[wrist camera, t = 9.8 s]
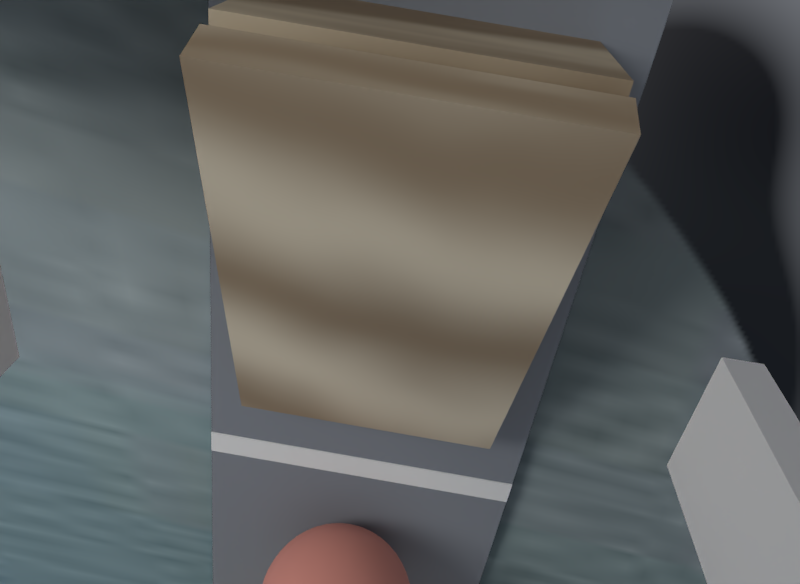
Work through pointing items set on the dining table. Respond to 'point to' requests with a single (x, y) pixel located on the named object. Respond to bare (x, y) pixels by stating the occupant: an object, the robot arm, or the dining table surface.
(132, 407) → the dining table surface
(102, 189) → the dining table surface
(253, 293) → the ramp
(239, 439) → the runway
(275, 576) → the ball
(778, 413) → the robot arm
